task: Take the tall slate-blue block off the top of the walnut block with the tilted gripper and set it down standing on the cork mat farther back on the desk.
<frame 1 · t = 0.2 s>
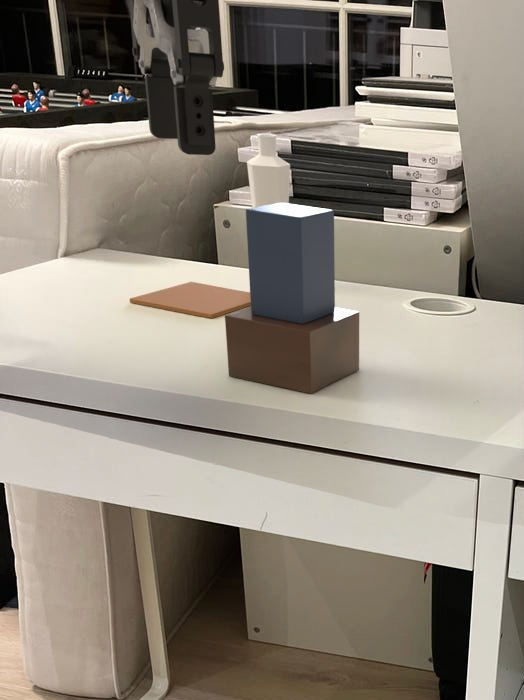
hand: (181, 145, 65), 18 cm above the table, tool pointing down, fingers open, 8 cm apart
top block: (293, 313, 81), point 5 cm above the table, touching base block
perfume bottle: (273, 284, 111), on the table
base block: (295, 373, 84), on the table, touching top block
cork mat: (200, 301, 102), on the table
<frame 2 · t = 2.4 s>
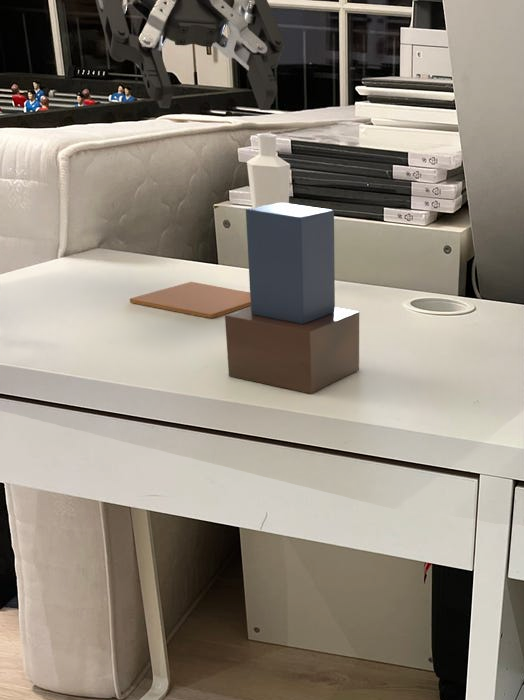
hand: (219, 102, 80), 19 cm above the table, tool tilted 45°, fingers open, 8 cm apart
nothing on the table moved.
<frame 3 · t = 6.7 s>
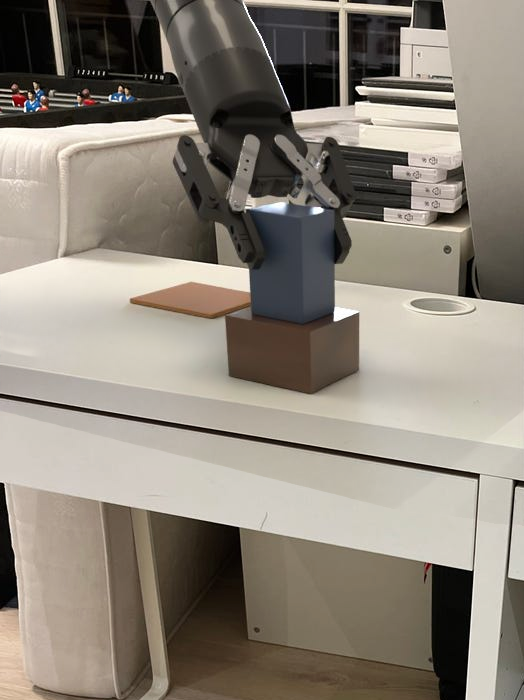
hand: (301, 260, 78), 9 cm above the table, tool tilted 45°, fingers closed on top block, 7 cm apart
top block: (293, 313, 81), point 5 cm above the table, touching base block, gripper
everything else where it was.
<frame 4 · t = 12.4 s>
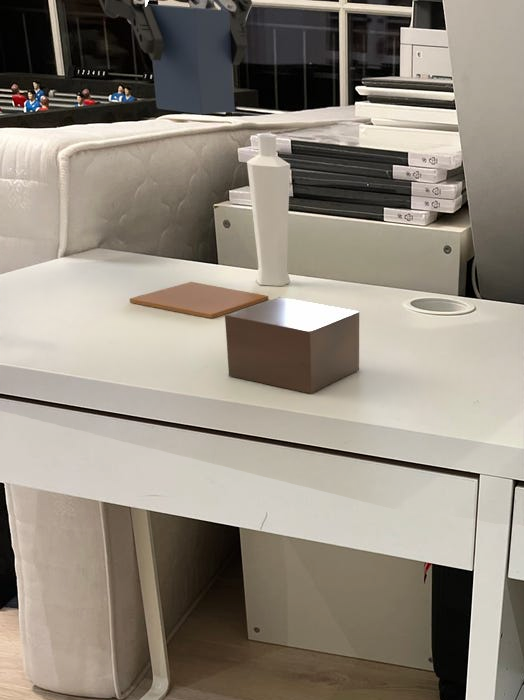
hand: (199, 55, 87), 22 cm above the table, tool tilted 45°, fingers closed on top block, 7 cm apart
top block: (196, 110, 90), point 18 cm above the table, touching gripper
base block: (295, 372, 84), on the table
everything else where it was.
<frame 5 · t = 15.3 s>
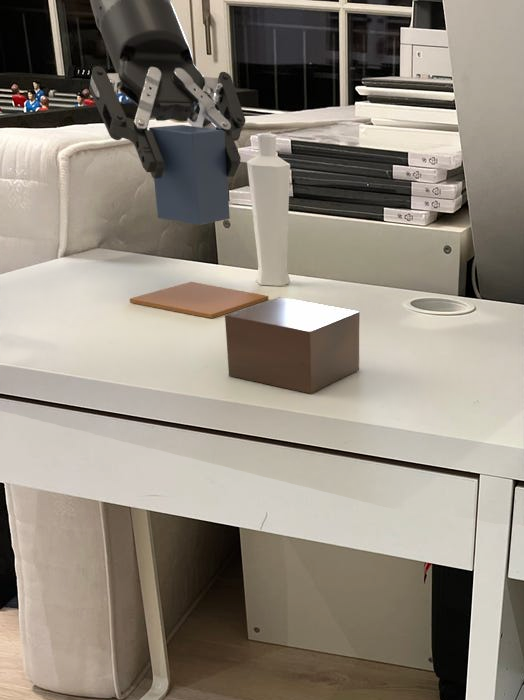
hand: (196, 171, 94), 12 cm above the table, tool tilted 45°, fingers closed on top block, 7 cm apart
top block: (194, 218, 98), point 8 cm above the table, touching gripper
everything else where it was.
when the fingers open (5 cm above the table, at t = 18.1 s): top block stays where it is, resting on cork mat.
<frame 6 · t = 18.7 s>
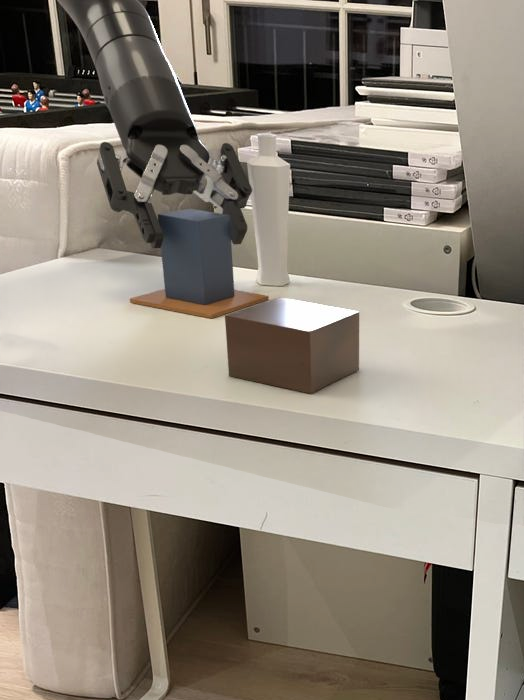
hand: (200, 241, 98), 6 cm above the table, tool tilted 45°, fingers open, 8 cm apart
top block: (200, 297, 102), resting on cork mat
everything else where it was.
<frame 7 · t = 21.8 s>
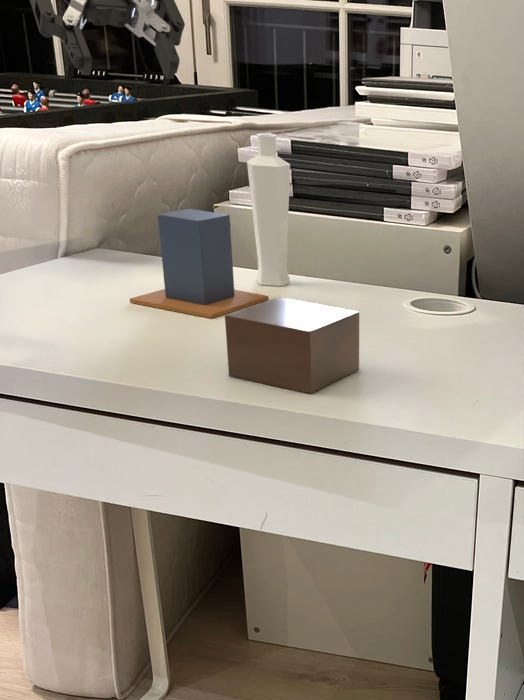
hand: (131, 70, 98), 20 cm above the table, tool tilted 45°, fingers open, 8 cm apart
nothing on the table moved.
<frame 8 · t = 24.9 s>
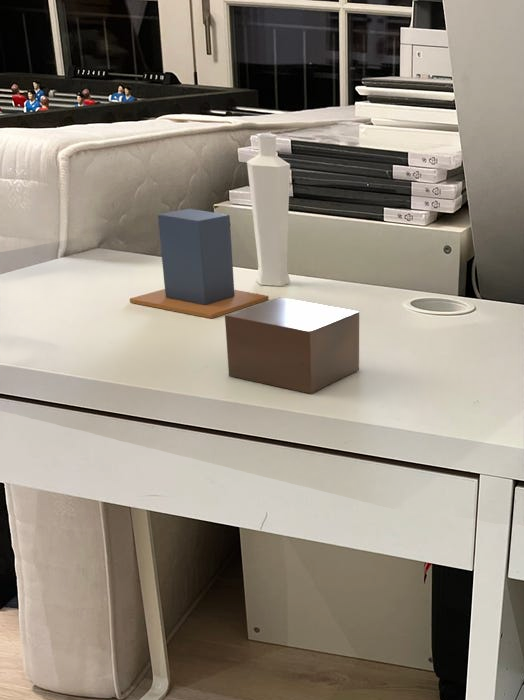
nothing on the table moved.
at the end: top block inside the target area on the cork mat (0.0 cm from its centre), point 0.4 cm above the cork mat's base; top block tilted 0°; base block moved 0.0 cm from its start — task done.
